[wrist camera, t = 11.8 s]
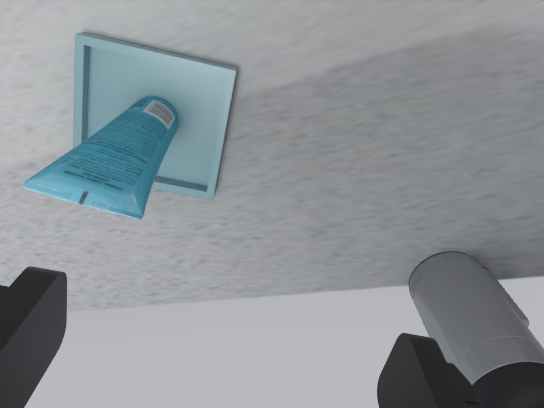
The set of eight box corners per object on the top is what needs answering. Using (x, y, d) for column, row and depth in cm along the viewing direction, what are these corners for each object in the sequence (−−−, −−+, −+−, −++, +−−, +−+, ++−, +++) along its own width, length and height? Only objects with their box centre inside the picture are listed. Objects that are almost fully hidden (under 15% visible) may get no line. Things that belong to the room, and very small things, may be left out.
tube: (118, 133, 45) (22, 221, 28) (121, 88, 43) (20, 152, 25) (188, 149, 46) (137, 244, 28) (195, 105, 43) (145, 179, 26)
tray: (237, 67, 42) (236, 70, 40) (215, 192, 48) (212, 199, 47) (83, 32, 41) (75, 33, 39) (80, 165, 47) (72, 172, 45)
